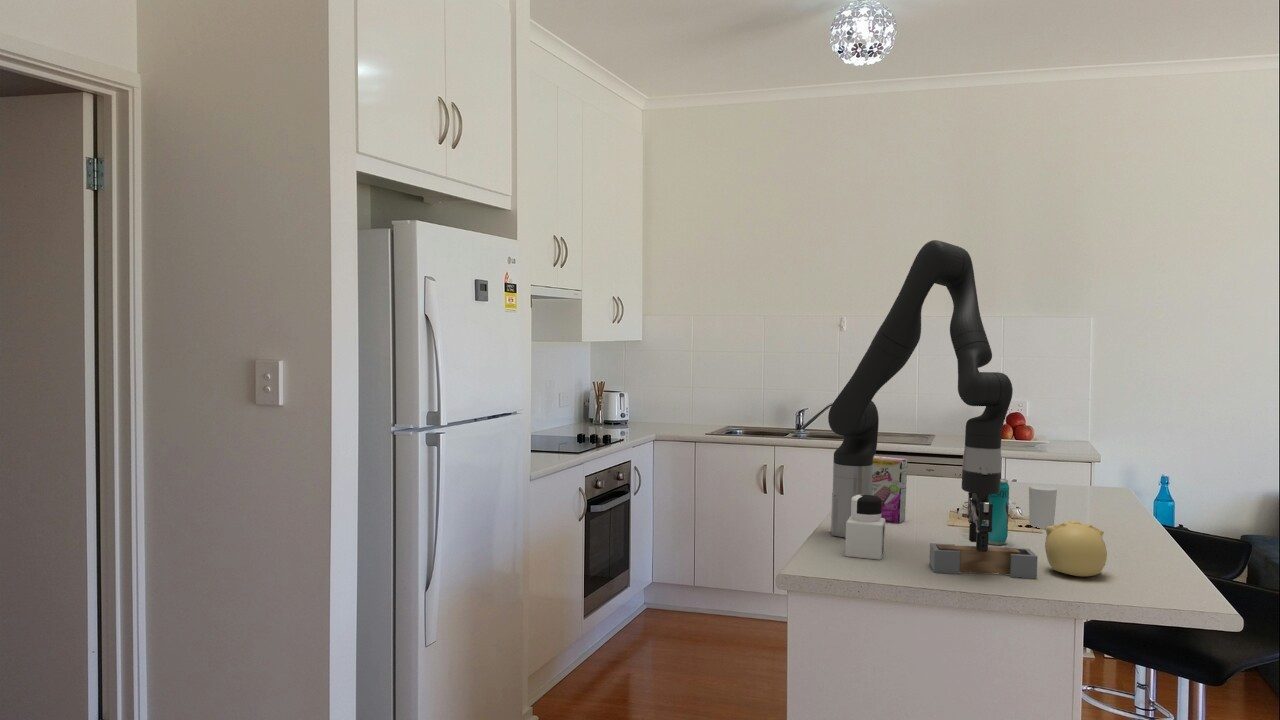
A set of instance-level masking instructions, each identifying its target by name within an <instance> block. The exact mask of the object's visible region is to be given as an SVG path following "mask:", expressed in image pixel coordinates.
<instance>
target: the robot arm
mask: <svg viewBox="0 0 1280 720" xmlns="http://www.w3.org/2000/svg"><path fill="white" fill-rule="evenodd" d="M975 278H976V277H975V271H974V265H973V261H972V258H971V256H970V253H969V252H968V251H967V250H966V249H965V248H963V247H961V246H959V245H955V244H953V243H952V244H951V243H949V242H945V241H943V240H936V239H933V240H930V241H927V242H926V243H925V244H924V245H923V246H922V247H921V248H920V250H919V251H918V253H917V254H916V256H915V258H914V260H913V262H912V264H911V266H910V269H909V271H908V273H907V275H906V278H905V280H904V282H903V284H902V286H901V288H900V290H899V293H898V295H897V297H896V298H895V301H894V302H893V304H892V306H891V308H890V309H889V311H888V313H887V315H886V317H885V318H884V320H883V322H882V323H881V325H880V327H879V328H878V330H877V331H876V333H875V335H874V336H873V339H872V340H871V342H870V345H869V347H868V348H867V350H866V352H865V353H864V355H863V357H862V358H861V360H860V362H859V364H858V365H857V367H856V369H855V371H854V373H853V374H852V376H851V377H850V378H849V380H848V381H847V382H846V384H845V386H844V387H843V388H842V390H841V391H840V393H839V394H838V395H837V396H836V398H835V399H834V401H833V403H831V406H830V408H829V411H828V417H827V420H828V425H829V428H830V430H831V431H832V432H833V433H834V434H836V435H838V436H842V437H843V440H842V443H841V444H840V445H839V447H838V448H837V449H835V451H834V452H833V466H832V470H833V471H832V492H831V515H830V517H831V520H830V521H831V522H830V523H831V525H830V534H831V536H832V537H833V536H834V537H841V538H845V539H846V522H847V520H848V519H849V517H850V516H852V515H851V498H852V497H854V496H856V495H872V470H873V465H872V464H873V457H874V456H876V455H875V454H876V453H877V448H878V447H877V446H878V438H879V436H878V434H879V422H880V421H879V412H878V407H877V406H876V404H875V402H874V401H873V399H874V397H875V395H876V394H877V393H878V392H879V391H880V390H881V389H882V387H883V386H884V385H886V384H887V383H888V382H889V381H890V380H891V379H893V378H894V376H895V375H897V374H898V373H899V372H900V371H901V370H902V369H903V368H904V366H905V365H906V364H907V363H908V361H909V359H910V357H911V356H912V355H913V353H914V351H915V350H916V347H917V346H918V344H919V342H920V339H921V334H922V309H923V305H924V303H925V301H926V298H927V296H928V294H929V293H930V291H931V289H932V288H933V286H934V285H940V286H943V287H946V289H947V290H948V293H949V295H950V297H951V299H952V300H951V301H952V305H953V310H952V315H951V319H950V324H949V335H950V339H951V344H952V347H953V349H954V353H955V357H956V359H957V360H956V361H957V392H958V395H959V397H960V400H961V401H962V402H963V403H964V404H965V405H967V406H969V407H970V406H971V407H985V408H984V409H983V411H982V413H981V414H980V415H979V416H975V417H972V418H969V419H968V420H967V421H966V424H965V429H964V430H965V432H964V434H965V435H964V437H965V438H964V450H963V455H962V470H961V471H962V472H961V489H962V490H963V491H964V492H967V494H968V495H967V496H968V497H967V498H968V499H967V500H968V501H967V514H966V517H967V519H968V523H969V530H968V540H969V542H970V543H975V546H976V550H977V551H978V552H987V551H988V547H989V544H988V536H989V534H990V533H991V532H992V510H993V504H992V503H991V502H989V495H990V494H997V493H999V492H1000V482H1001V479H1002V478H1001V477H1002V450H1001V448H1002V430H1003V425H1004V423H1005V420H1006V418H1007V417H1006V416H1007V414H1008V412H1009V408H1010V405H1011V402H1012V399H1013V384H1012V382H1011V379H1010V377H1009V376H1008V375H1007V374H1005V373H1004V372H1003V373H1002V372H995V371H994V372H991V371H990V372H987V371H980V370H979V368H983V367H985V366H986V365H988V364H989V363H990V362H991V361H992V359H993V352H992V348H991V345H990V343H989V339H988V337H987V334H986V330H985V328H984V325H983V321H982V317H981V312H980V308H979V307H980V306H979V300H978V293H977V286H976V280H975ZM982 523H983V524H986V526H982Z"/></svg>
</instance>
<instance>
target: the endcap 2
mask: <svg viewBox="0 0 1280 720" xmlns="http://www.w3.org/2000/svg"><path fill="white" fill-rule="evenodd" d="M1003 548H1008V547H1003ZM1015 548H1016V549H1017V550H1018V551H1020V554H1010V575H1009V577H1010V578H1017V577H1022V578H1021V579H1034V578H1037V579H1038V555H1036V553H1035V552H1033V551H1032V549H1030V548H1026V547H1025V548H1024V547H1023V548H1022V547H1015Z"/></svg>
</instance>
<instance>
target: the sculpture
mask: <svg viewBox="0 0 1280 720" xmlns="http://www.w3.org/2000/svg"><path fill="white" fill-rule="evenodd" d="M1045 533H1046V536H1045V540H1044V541H1045V543H1044V549H1045V554H1046V559H1047V562H1048V564H1049V566H1050V567H1051V568H1052V569H1053V570H1054V571H1056V572H1059V573H1061V574H1065V575H1071V576H1075V577H1093V576H1096V575H1098V574H1100V573H1101V572H1102V571H1103V569H1104V568H1105V566H1106V563H1107V559H1108V558H1107V557H1108V550H1107V545H1106V542H1105V541H1104V539H1103V535H1104V534H1105V532H1104V530H1102V529H1100V528H1097V526H1093V525H1092V524H1088V523H1082V522H1080V521H1077V520H1070V521H1067V522H1062V523H1058V524H1054V525H1053V526H1048V527H1046V529H1045Z"/></svg>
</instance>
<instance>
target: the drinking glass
mask: <svg viewBox="0 0 1280 720" xmlns="http://www.w3.org/2000/svg"><path fill="white" fill-rule="evenodd" d="M1057 494H1058V489H1057V488H1055V487H1051V486H1046V485H1045V486H1044V485H1043V486H1042V485H1030V486H1029V487H1028V509H1029V512H1028V515H1029V516H1028V521H1029V523H1028V524H1029V525H1031V526H1033V527H1037V528H1040V529H1039V530H1046V527H1048V526H1053V525H1055V519H1056V518H1055V517H1056V504H1057ZM1037 528H1036V529H1037Z"/></svg>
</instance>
